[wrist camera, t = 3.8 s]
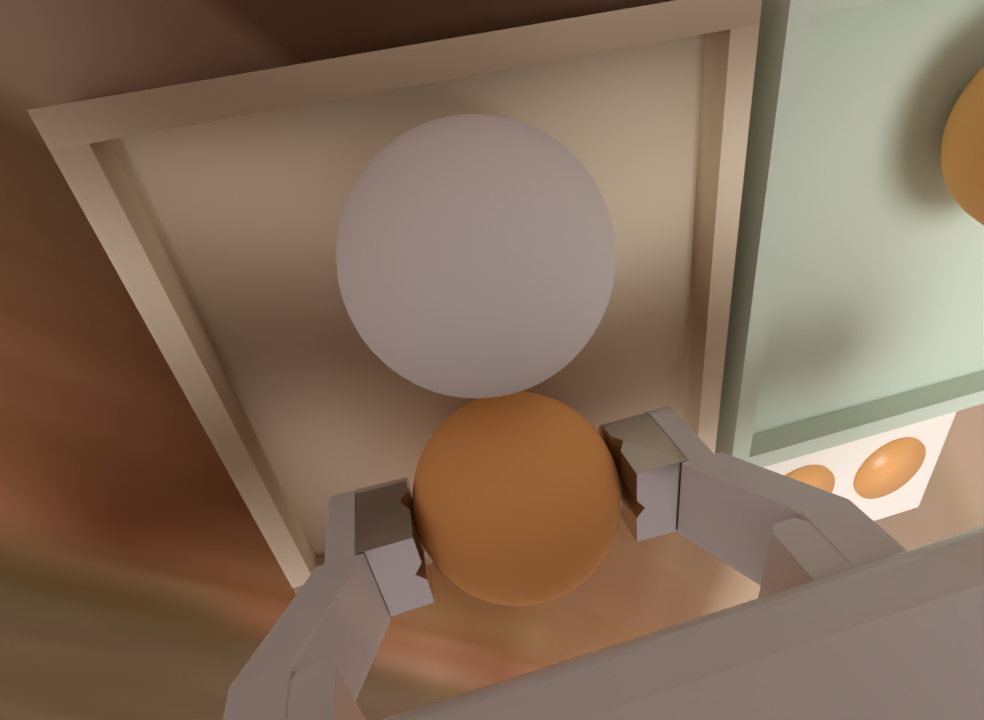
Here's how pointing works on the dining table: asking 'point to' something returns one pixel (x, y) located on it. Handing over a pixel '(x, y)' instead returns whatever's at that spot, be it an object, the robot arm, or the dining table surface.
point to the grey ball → (475, 256)
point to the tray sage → (852, 230)
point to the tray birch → (321, 200)
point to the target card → (876, 467)
